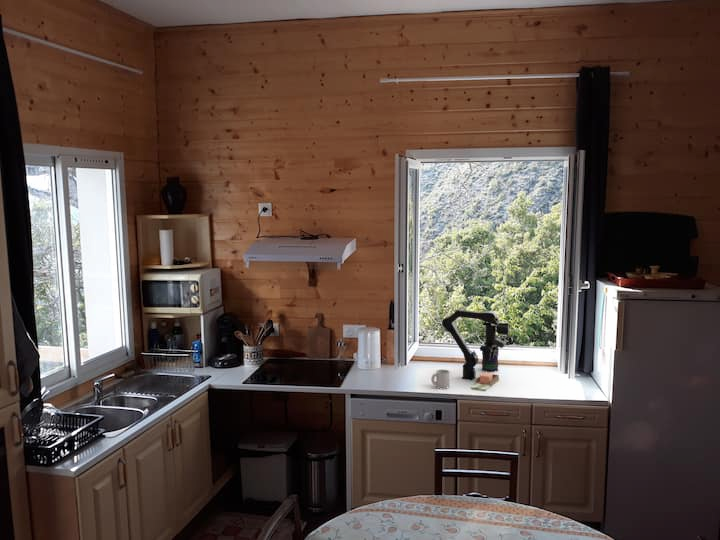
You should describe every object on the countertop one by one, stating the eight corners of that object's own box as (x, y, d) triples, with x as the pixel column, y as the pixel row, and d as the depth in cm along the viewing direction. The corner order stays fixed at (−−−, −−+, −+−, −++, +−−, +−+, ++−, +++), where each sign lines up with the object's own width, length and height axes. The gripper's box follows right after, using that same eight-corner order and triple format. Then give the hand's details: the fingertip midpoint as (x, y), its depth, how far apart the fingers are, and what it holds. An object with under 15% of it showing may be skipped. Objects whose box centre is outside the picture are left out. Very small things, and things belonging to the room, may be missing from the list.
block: (479, 382, 341) (479, 375, 341) (483, 379, 346) (483, 372, 346) (489, 383, 338) (489, 376, 338) (492, 381, 344) (492, 374, 343)
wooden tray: (470, 388, 333) (470, 383, 333) (484, 377, 353) (484, 372, 353) (485, 391, 329) (485, 385, 328) (498, 380, 348) (498, 375, 348)
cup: (450, 388, 334) (450, 373, 332) (432, 389, 333) (432, 373, 332) (448, 384, 341) (448, 369, 340) (430, 385, 340) (430, 369, 339)
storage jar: (479, 370, 368) (479, 346, 366) (484, 366, 376) (485, 343, 375) (495, 372, 363) (495, 348, 361) (500, 368, 371) (500, 345, 369)
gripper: (499, 338, 333) (498, 365, 335) (509, 331, 349) (508, 358, 351) (479, 336, 338) (479, 363, 340) (490, 329, 354) (490, 355, 356)
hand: (490, 360), depth 347 cm, fingers open, 6 cm apart
